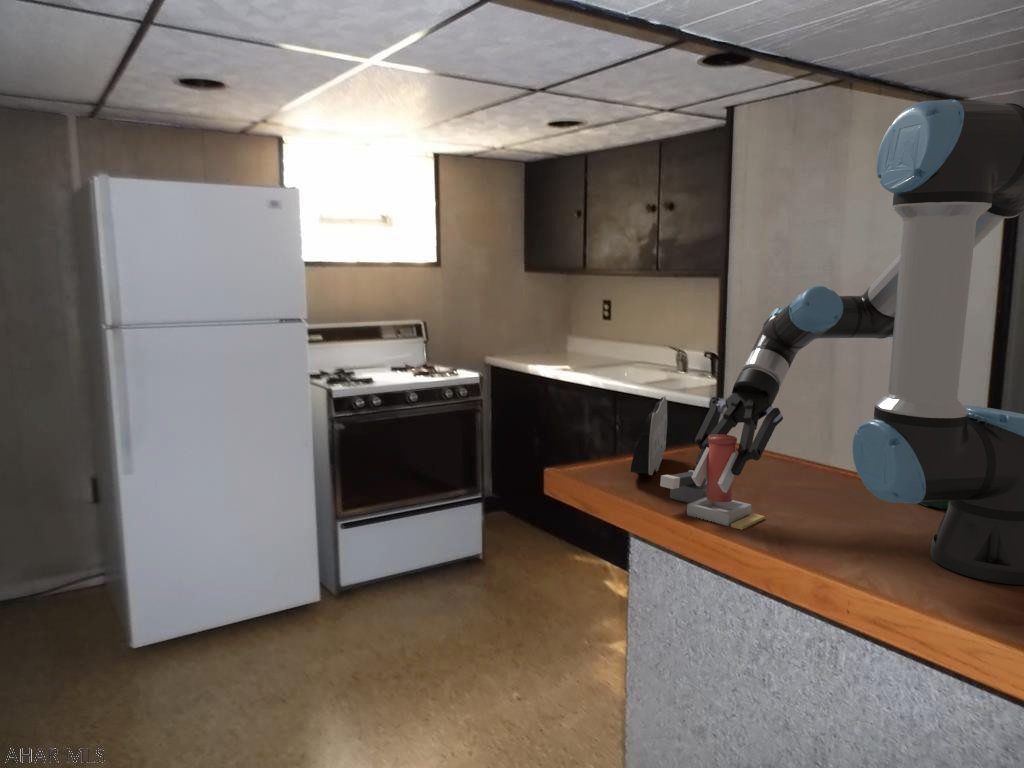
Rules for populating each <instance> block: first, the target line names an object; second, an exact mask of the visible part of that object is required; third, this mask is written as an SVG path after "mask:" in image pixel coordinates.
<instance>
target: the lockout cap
mask: <svg viewBox="0 0 1024 768" xmlns="http://www.w3.org/2000/svg"><path fill="white" fill-rule="evenodd" d="M708 442H709V457H708V472H707V499H708V500H711V501H715V502H730V501H732V500H733V495H734V494H733V493H734V480H733V481H732V483H731V485H730V487H729V489H728V491H727V493H725V492H722V490H721V488H720V487H719V485H718V481H719V479H720V477H721V475H722V473H723V471H724V469H725V467H726V465H727V463H728V461H729V459H730V457H731V454H732V453H733V452H734V453H736V444H737V442H738V437H736V436H734V435H730V434H727V435H724V434H713V435H709V436H708Z"/></svg>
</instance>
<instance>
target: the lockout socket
mask: <svg viewBox="0 0 1024 768" xmlns="http://www.w3.org/2000/svg"><path fill="white" fill-rule="evenodd" d="M752 506H753V504H750V503H747V502H743V501H739V500H735V499H732V501H730V502H715V501H711V500H708V499H707V497H704V498H702V499H699V500H697V501H694V502H692V503H687V505H686V507H687V508H686V516H688V517H692V518H696V517H697V518H696V519H699V518H700V519H699V520H703V519H704V520H703V521H707V520H708V521H707V522H711V521H712V522H711V523H714V522H715V524H719V525H722V526H726V527H729V526H730V528H733V529H738V530H741V531H742V530H744V529H747V528H748V527H750V526H753V525H755V524H756V523H758V522H760V521H761V522H762V521H763V520H765V515H761V514H758V513H752V508H753V507H752Z"/></svg>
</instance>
